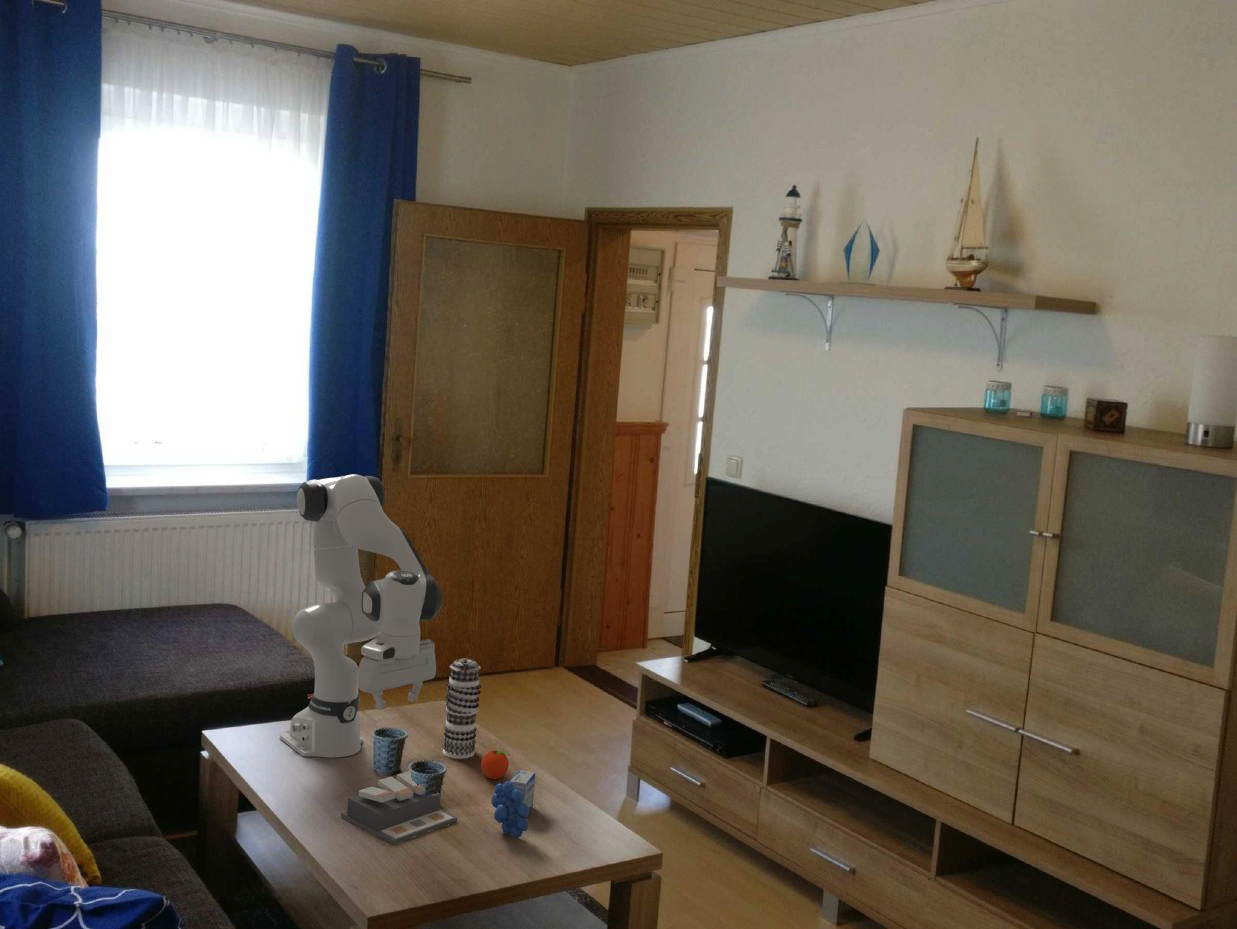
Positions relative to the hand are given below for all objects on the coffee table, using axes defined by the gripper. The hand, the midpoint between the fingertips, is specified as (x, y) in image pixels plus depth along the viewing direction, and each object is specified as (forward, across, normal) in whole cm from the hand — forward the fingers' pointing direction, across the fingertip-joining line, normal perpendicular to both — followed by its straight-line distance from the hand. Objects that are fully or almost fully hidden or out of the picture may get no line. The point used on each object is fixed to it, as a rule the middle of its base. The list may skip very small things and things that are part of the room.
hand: (396, 704), depth 273 cm
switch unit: (+27, -2, +1) cm, 27 cm away
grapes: (+28, -15, +22) cm, 38 cm away
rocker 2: (+20, -2, -1) cm, 20 cm away
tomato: (+27, -37, -3) cm, 46 cm away
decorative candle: (+26, -41, -21) cm, 53 cm away
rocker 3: (+20, -8, -1) cm, 22 cm away
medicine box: (+28, -27, +15) cm, 41 cm away
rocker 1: (+20, +4, -1) cm, 21 cm away
